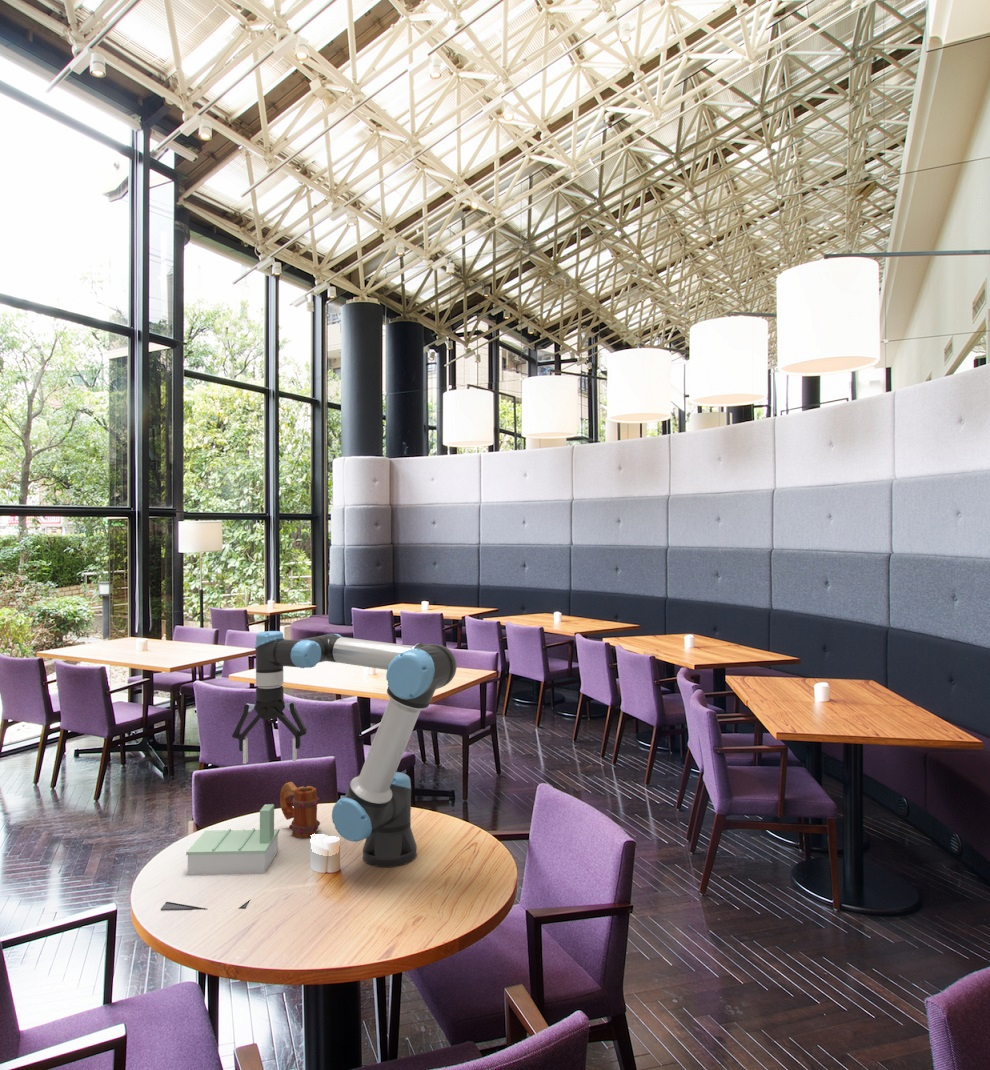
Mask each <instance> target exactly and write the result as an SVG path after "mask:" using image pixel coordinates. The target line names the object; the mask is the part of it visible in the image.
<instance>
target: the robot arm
mask: <svg viewBox="0 0 990 1070" xmlns="http://www.w3.org/2000/svg"><path fill="white" fill-rule="evenodd" d="M254 648H255V686H257V687H256V688H255V704H253V703H249V702H247V703H245V705H243V712H242V715H241V718H239V721H238V724H237V725H236V727H235V729H234V731H233V733H232V735H231V737H232V738H233V739H238V746H239V747H238V750H239V752H242V764H247V763H248V761H249V750H248V749H249V744H248V743H249V741H248V740H249V738H248V737H246V736H247V735H248V734H249V732H250V731H251V730H252V729H253V728H254V727H255V726H256V724H257V723H258V722H259V721H260V720H261V719H262V720H263V721H266V720H267V721H268V720H276V719H278V720H279V721H280V722H281V723H282V724H283V725H284V726H285V727H286V728H287V730H289V731H290V732H291V734H292V735H293V737H292V762H297V759H298V758H297V757H298V756H297V755H298V751H297V750H298V749H300V748H301V745H302V744H301V737H303V736H306V735H307V733H308V728H306V725H305V723H304V721H303V720H302V717H301V716H300V714H299V713H298V710H297V708H296V702H295V701H290V702H287V703H285V701H284V700H285V699H284V694H285V693H284V686H283V684H284V667H290V668H300V669H305V668H307V669H309V668H314V667H316V666H317V664H319V663H324V662H331V663H339V664H344V665H345V664H346V665H351V666H359V667H365V668H366V667H367V668H373V669H379V670H385V671H386V674H385V675H386V677H385V678H386V681H387V688H386V694H387V696H388V697H389V699H388V703H387V705H386V708H385V710H384V713H383V715H382V717H381V719H380V720H381V721H380V722H379V725H378V728H377V730H376V733H375V735H374V737H373V740H372V743H371V746H370V748H369V751H368V753H367V757H366V759H365V761H364V763H363V765H362V768H361V770H360V773H359V775H358V776H354V777H353V778H352V780H350V783H349V785H348V789H347V791H346V793H345V795H344V797H342V798H341V797H340V798H339V799H338V801H336V802H335V803H334V805H333V807H332V810H331V811H332V812H331V820H332V823H333V825H334V829H335V830H336V832H337V833H338V835H340V837H341V838H343V839H344V840H346V841H348V842H352V843H353V842H354V843H355V842H356V843H357V842H361V841H363V840H365V841H364V844H363V848H362V860H363V862H365V863H366V864H368V865H370V866H374V867H377V868H378V867H381V868H392V867H393V868H394V867H398V866H403V865H407V864H409V863H411V862H412V861H414V860H415V859H416V857H417V855H418V854H417V852H418V851H417V850H418V848H417V847H418V846H417V843H416V841H415V837H414V833H413V831H412V827H411V823H412V822H411V820H412V819H411V815H412V813H411V809H412V808H411V807H412V802H411V801H412V798H411V797H412V785H411V783H412V782H411V777H410V776H409V775H408V774H406V773H403V772H400V771H398V767H399V765H400V762H401V760H402V758H403V756H404V753H405V750H406V749H407V746H408V743H409V741H410V738H411V736H412V733H413V731H414V728H415V725H416V723H417V720H418V718H419V716H420V714H421V712H422V711H423V710H426V709H428V708H429V707H430V704H431V702H432V700H433V697H434V694H435V691H436V690H439V689H440V688H443V687H445V686H447V685H448V684H449V683H450V682H451V681H452V680H453V679H454V677H455V675H456V674H457V668H458V667H457V666H458V664H457V660H456V656H455V654H454V653H453V651H452V650H451V649H449V648H448V647H446V646H444V645H443V644H442V645H441V644H437V643H436V644H435V643H434V644H433V643H432V644H431V643H424V642H423V643H420V642H418V643H416V644H415V645H409V644H400V643H391V642H384V641H377V640H370V639H368V640H367V639H360V638H355V637H354V638H353V637H344V636H342V635H341V634H338V633H327V634H323V635H318V636H313V637H307V638H302V639H285V637H284V633H283V632H282V631H279V630H269V631H267V630H266V631H260V632H258V633H257V634H256V636H255V646H254ZM285 708H286V710H288V711H289V712H290V714H291V716H292V718H293V720H294V722H295V724H296V725H297V727H296V726H295V724H294V723H293V722H291V720H290V719H289V718H288V717H287V716H286V714H285V713H284V712H283V711H284V710H285ZM253 710H254V711H255V712H256V713H257V715H256V716H255V717H254V718H253V720H251V722H250V723H249V724H248V726H247V727H246V728H245V729H244V730H243V732H242V733H241V731H242V728H243V726H244V725H245V722H246V720H247V719H248V716H249V713H252V711H253Z"/></svg>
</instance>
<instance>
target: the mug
mask: <svg viewBox="0 0 990 1070" xmlns="http://www.w3.org/2000/svg"><path fill="white" fill-rule="evenodd" d="M317 795H318V794H317V788H316V787H314V786H311V785H307V786H306V787H305V786H299V787H297V786H296V785H295V784H294V782H293V781H289V782H286V783H284V784H283V785H282V787H281V789H280V793H279V804H280V810H281V812H282V814H283V816H284V817H285V820H286V821H287V820H291V819H292V821H291V823H290V824H289V826H288V828H289V829H290V830H291V832H292V836H293V837H296V838H298V839H299V838H300V839H302V838H303V839H306V838H307V839H308V838H311V837H310V835H312V834H314V833H316V834H317V832H318V829H319V826H321V822H320V821H319V820H318V813H317V812H318V804H319V802H320V800H321V799H320V797H318V796H317ZM291 797H293V798H292V800H291Z"/></svg>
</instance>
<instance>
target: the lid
mask: <svg viewBox="0 0 990 1070" xmlns="http://www.w3.org/2000/svg"><path fill="white" fill-rule="evenodd" d="M279 829H280V828H279ZM279 829H275V803H271V804H270V803H269V804H268V803H267V804H264V805H263V806H262V807H261V809H259V829H256V828H252V829H231V828H228V829H226V830H205V831H204V832H202V834H201V835H200V836H199V837H198V838H197V839H196V841H195V842H194V843H193V844H192V845H191V846H190V847H189V848H188V849H187V851H186V854H185V856H188V855H221V854H266V852H267V850H268V849H269V847H270V846H271V844H272V843H273V841H274V839H275V838H276V836H277V835H279V833H280V830H279Z"/></svg>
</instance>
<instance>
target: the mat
mask: <svg viewBox="0 0 990 1070" xmlns="http://www.w3.org/2000/svg"><path fill="white" fill-rule="evenodd" d="M250 901H251V899H249V900H247V901H246V902H245V903H244V904H242V905H241V906H239V907H238V908H237V909H246V908H247V907H248V905H249V903H250ZM193 910H194V911H197V910H198V911H200V910H207V908H206V907H200V906H194V905H188V904H182V903H176V902H171V901H165V903H164V904H163V905H162V906H161V907H160V911H193Z"/></svg>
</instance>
